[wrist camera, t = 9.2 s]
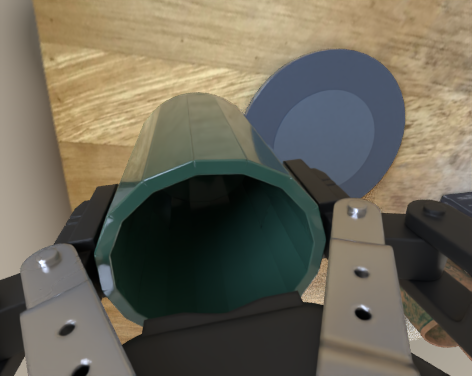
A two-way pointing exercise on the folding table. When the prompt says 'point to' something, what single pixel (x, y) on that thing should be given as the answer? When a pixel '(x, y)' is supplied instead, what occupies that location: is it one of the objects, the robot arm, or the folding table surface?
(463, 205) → the small box
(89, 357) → the robot arm
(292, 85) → the plate
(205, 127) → the cup
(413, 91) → the folding table surface
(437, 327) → the mug
